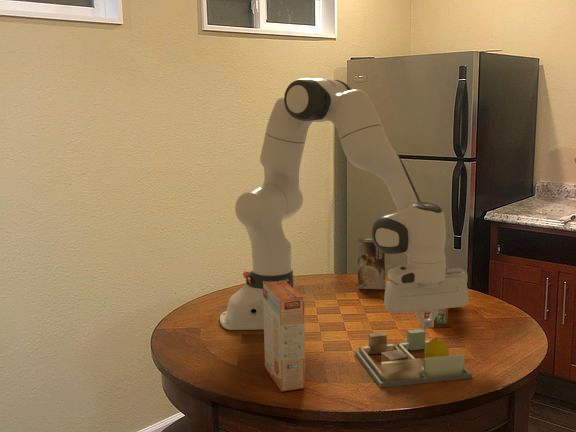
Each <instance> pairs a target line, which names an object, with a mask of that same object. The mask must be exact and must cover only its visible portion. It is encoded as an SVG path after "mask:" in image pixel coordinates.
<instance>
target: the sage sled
mask: <svg viewBox="0 0 576 432" xmlns="http://www.w3.org/2000/svg"><path fill="white" fill-rule="evenodd" d="M431 340H432V339H430V340H426V331H425V330H424V328H418V329H408V330H406V342H400V343H399V342H398V343H397V347H398V348H399V349H400V350H401V351H402V352H403V353H404V354H405V355H407V356H408V357H409V359H416V358H415V357H414V356H413V355H412V354H411V353H410V352H409V351H416V350H417V351H418V350H425V348H426V345H427V343H428V342H429V341H431ZM464 367H465V354H463V353H461V354H450V355H448V356H438V357H428V358H425V357H424V358H423V365H422V378H424V377H434V376H443V375H453V374H462V373H464Z"/></svg>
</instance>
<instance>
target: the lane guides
mask: <svg viewBox="0 0 576 432" xmlns="http://www.w3.org/2000/svg"><path fill="white" fill-rule="evenodd" d="M354 352H355V356H356V357H357V359H358V360H359V362H361V365H363V367H364V368H365V370H366V371H367V373H368V374H370V377H371V378H372V379H373V380H374V382H375V383H376V384H377V386H378V387H379V388H391V387H400V386H408V385H409V386H410V385H417V384H418V385H419V384H427V383H429V384H430V383H438V382H444V381H445V382H447V381H455V380H457V381H458V380H465V379H473V373H472V372H471V371H469V370H468V369H467V368H466V367H465V366H464V373H462V374H453V375H443V376H434V377H422V378H415V379H405V380H396V381H386V382H381V380H380V379H379V378H378V376H377V375H376V374H375V372H374V371H373V370H372V369H371V367H370V366H369V365H368V363H367V362H366V361H365V359H364V358H363V357H362V356H361V354H360V353H359V350H355V351H354ZM449 355H451V354H450V353H449Z"/></svg>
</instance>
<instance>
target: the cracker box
mask: <svg viewBox="0 0 576 432" xmlns="http://www.w3.org/2000/svg"><path fill="white" fill-rule="evenodd" d="M263 302H264V329H263V337H264V338H263V339H264V368H265V370H266V371H267V373H268V374H269V376H270V378H271V379H272V381H273V382H274V383H275V385H276V386H277V387H278V389H279V390H280V392H282V393H283V392H289V391H297V390H303V389H306V359H305V356H306V354H305V353H306V347H305V346H306V345H305V344H306V343H305V341H306V340H305V339H306V338H305V332H306V331H305V297H304V296H303V295H302V294H300V292H299V291H298V290H296V289H295V288H294V287H293V288H292V287H291V286H290V285H289V284H288V283H287V282H286V281H280V282H272V283H264V284H263Z"/></svg>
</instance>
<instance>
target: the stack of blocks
mask: <svg viewBox="0 0 576 432" xmlns="http://www.w3.org/2000/svg"><path fill="white" fill-rule="evenodd" d="M448 311H449V308H444V309H438V315H437V316H436V318H435V320H434V324H440V325H441V324H442V325H447V323H448ZM430 313H431V312H430V311H429V310H425V311H424V314H423V319H426V318H429V315H430Z"/></svg>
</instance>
